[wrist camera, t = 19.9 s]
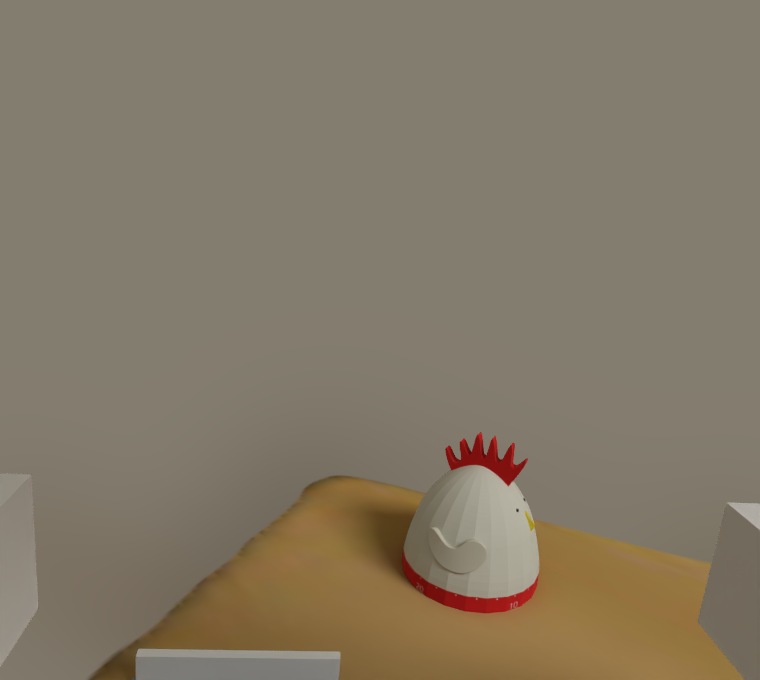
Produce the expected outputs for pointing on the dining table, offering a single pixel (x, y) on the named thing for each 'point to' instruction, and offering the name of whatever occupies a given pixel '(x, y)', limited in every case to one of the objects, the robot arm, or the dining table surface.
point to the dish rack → (236, 665)
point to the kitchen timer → (474, 535)
